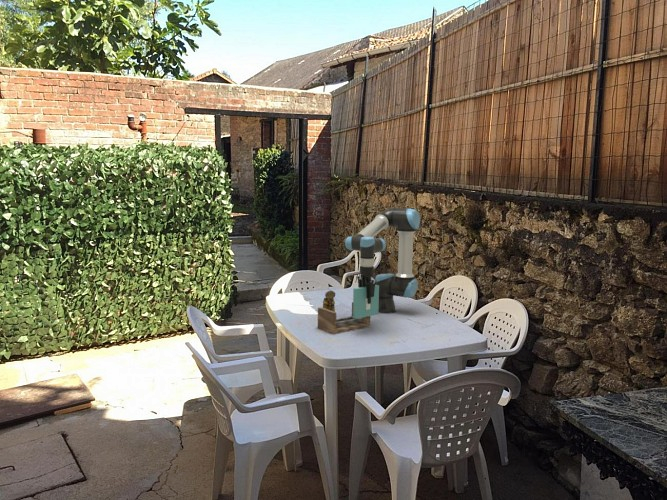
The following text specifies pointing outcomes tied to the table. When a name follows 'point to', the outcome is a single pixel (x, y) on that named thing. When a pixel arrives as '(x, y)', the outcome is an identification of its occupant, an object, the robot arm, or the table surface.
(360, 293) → the door panel
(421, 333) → the table surface
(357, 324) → the wooden rack
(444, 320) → the table surface
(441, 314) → the table surface
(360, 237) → the robot arm
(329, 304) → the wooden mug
